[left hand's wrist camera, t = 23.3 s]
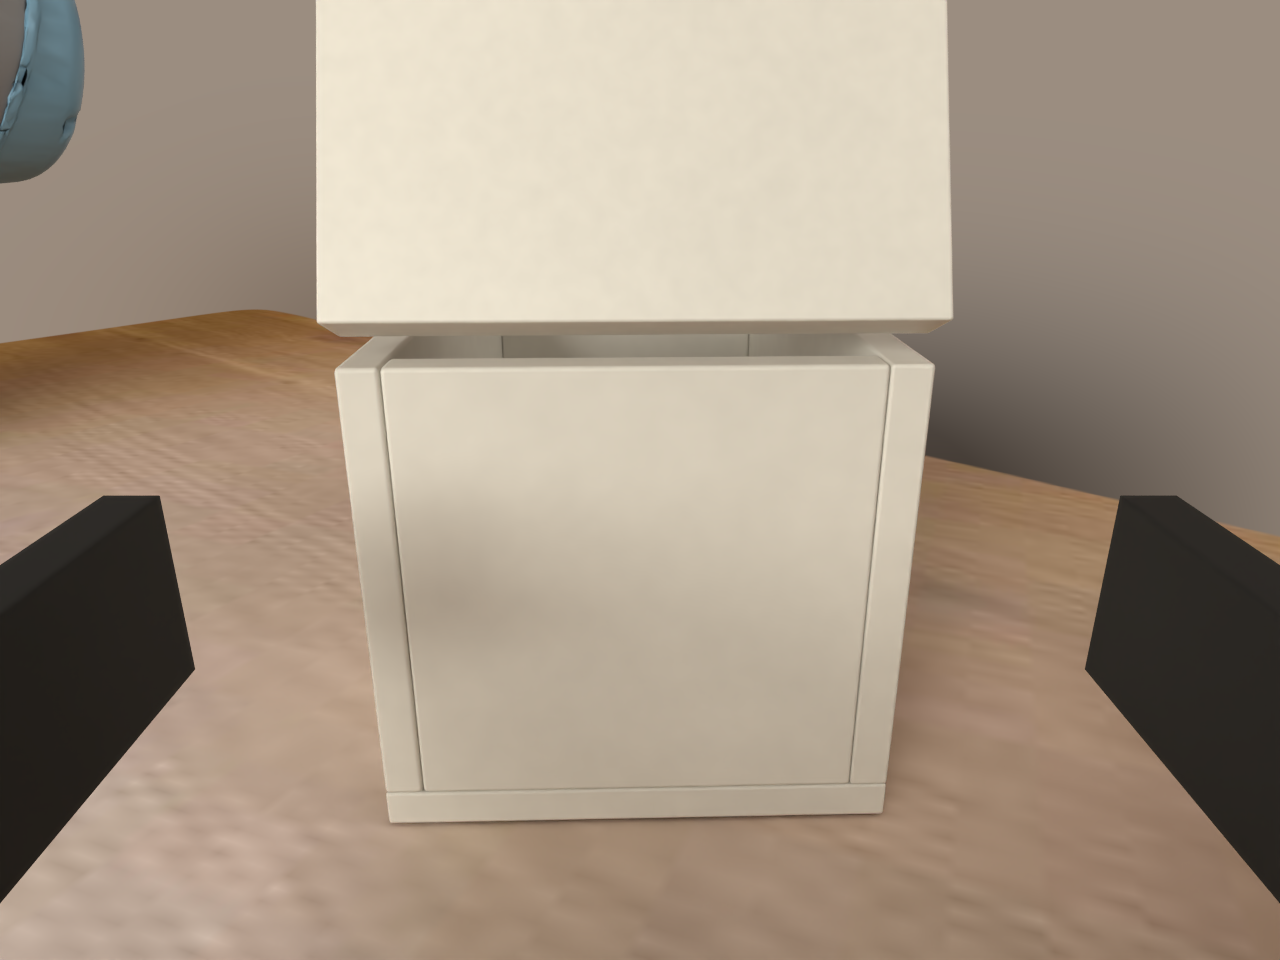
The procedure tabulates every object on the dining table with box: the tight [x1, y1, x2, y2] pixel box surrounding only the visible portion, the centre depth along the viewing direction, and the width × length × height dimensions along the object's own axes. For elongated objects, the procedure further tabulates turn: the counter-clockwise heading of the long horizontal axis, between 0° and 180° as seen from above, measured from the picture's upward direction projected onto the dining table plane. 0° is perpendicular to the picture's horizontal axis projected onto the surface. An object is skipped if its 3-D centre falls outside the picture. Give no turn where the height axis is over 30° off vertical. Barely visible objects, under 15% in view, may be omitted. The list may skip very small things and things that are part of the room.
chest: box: [335, 333, 935, 823], centre depth 24 cm, size 17×10×9 cm, turn 2°
